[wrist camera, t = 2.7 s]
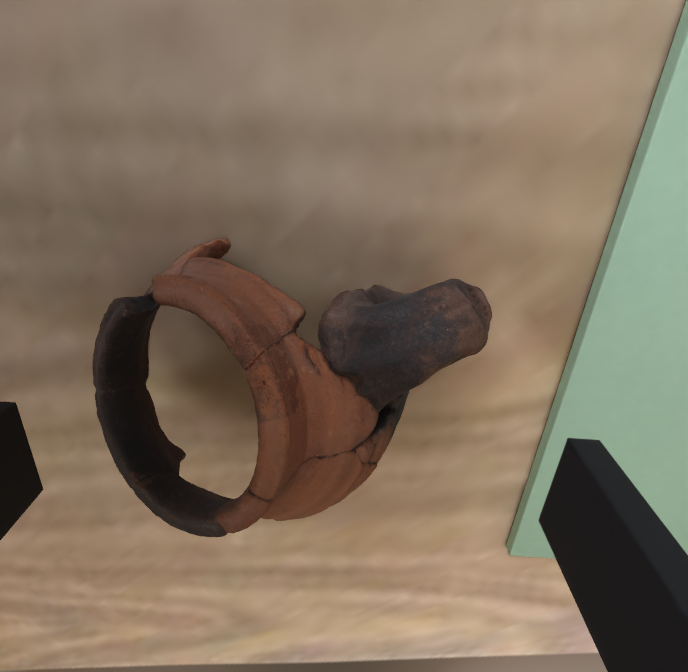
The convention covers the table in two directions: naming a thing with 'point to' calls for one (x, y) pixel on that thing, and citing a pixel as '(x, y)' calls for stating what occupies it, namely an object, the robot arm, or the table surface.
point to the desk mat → (632, 332)
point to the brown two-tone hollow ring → (279, 384)
